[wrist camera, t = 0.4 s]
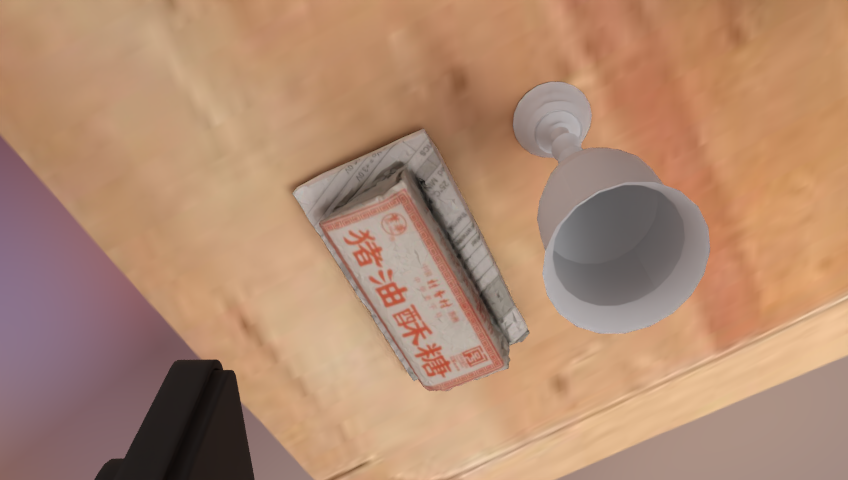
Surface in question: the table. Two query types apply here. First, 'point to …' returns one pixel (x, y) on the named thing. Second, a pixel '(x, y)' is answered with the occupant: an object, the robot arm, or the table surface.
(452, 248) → the packaged product
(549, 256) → the chalice
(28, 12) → the table surface
